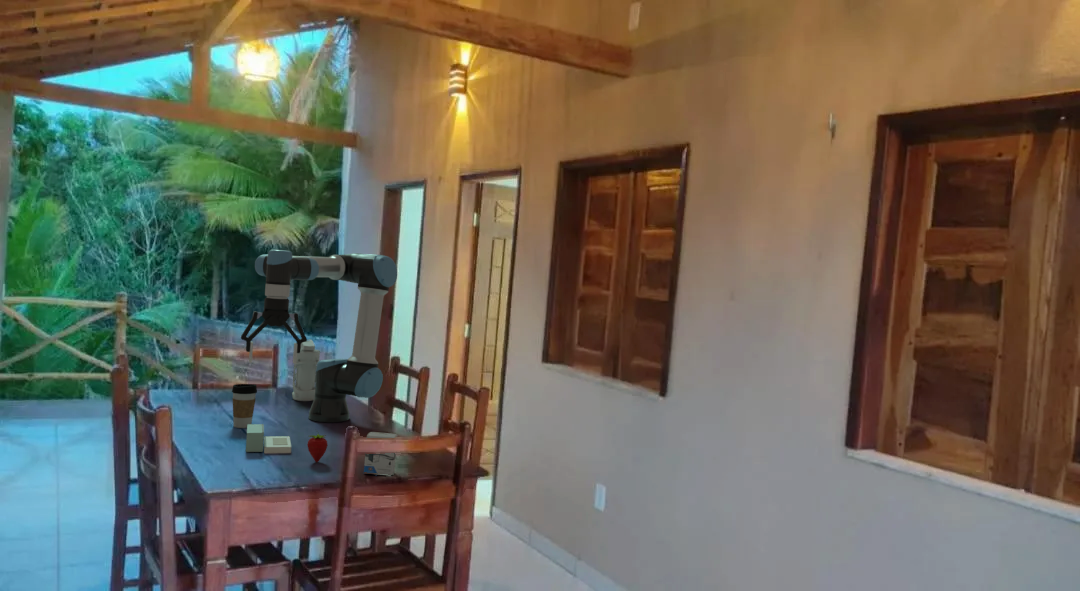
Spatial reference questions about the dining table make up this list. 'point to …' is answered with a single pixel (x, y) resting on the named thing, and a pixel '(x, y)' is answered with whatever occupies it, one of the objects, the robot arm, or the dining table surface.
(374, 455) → the ink box
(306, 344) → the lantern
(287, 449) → the cream flat block
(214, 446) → the dining table surface
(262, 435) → the grey rectangular block
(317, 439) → the strawberry
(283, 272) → the robot arm
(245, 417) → the coffee cup
